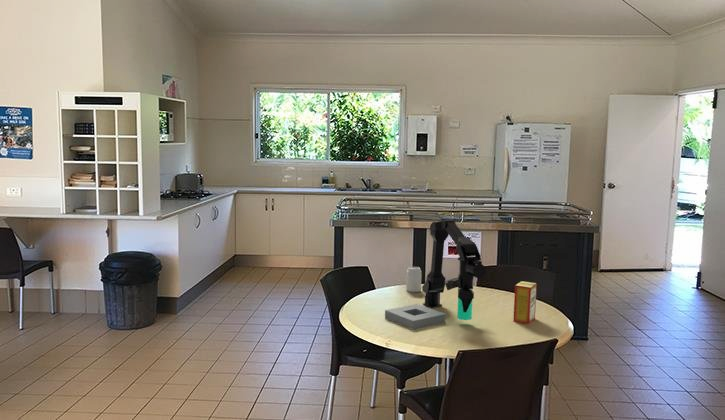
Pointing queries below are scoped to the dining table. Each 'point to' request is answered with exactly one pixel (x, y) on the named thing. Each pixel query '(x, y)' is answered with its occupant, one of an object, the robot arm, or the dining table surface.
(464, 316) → the candle
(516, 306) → the baking soda box
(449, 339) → the dining table surface
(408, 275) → the can
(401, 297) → the dining table surface
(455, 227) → the robot arm
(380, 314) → the dining table surface
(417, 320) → the socket block
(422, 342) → the dining table surface
